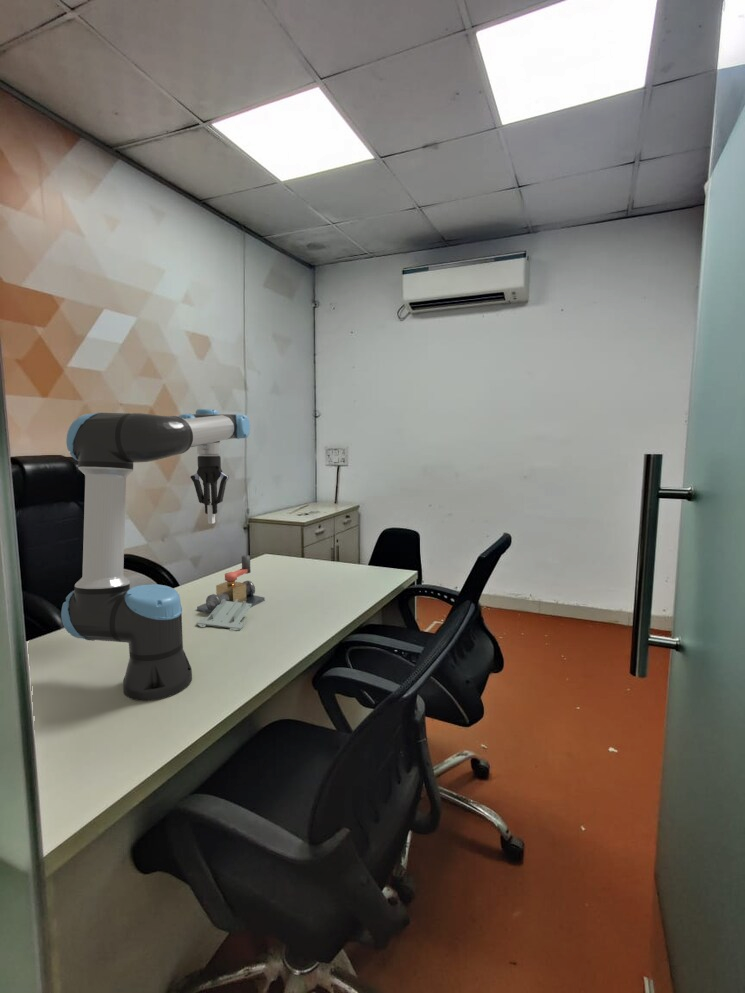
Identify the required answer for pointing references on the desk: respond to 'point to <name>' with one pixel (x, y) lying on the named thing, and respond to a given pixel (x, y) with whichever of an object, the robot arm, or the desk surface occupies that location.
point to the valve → (231, 595)
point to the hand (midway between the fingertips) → (211, 523)
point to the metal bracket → (226, 615)
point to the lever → (245, 569)
